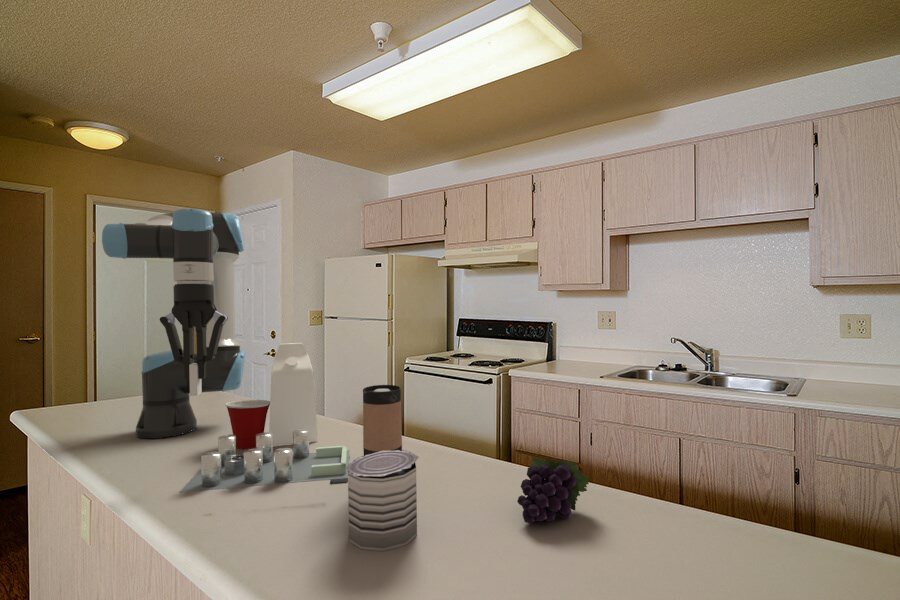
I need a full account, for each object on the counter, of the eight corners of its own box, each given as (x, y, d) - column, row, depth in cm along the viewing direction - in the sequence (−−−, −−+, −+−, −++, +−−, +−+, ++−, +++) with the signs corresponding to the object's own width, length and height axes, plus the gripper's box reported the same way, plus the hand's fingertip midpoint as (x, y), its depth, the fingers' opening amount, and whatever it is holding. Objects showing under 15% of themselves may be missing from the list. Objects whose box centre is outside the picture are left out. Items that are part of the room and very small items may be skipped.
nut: (229, 468, 105) (229, 454, 105) (251, 466, 106) (250, 452, 106) (223, 477, 100) (222, 462, 100) (245, 475, 101) (245, 460, 101)
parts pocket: (316, 456, 112) (316, 447, 112) (346, 453, 114) (346, 445, 114) (311, 476, 99) (311, 466, 99) (345, 473, 101) (345, 464, 101)
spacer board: (207, 464, 110) (207, 460, 110) (349, 453, 116) (349, 450, 116) (179, 496, 92) (179, 492, 92) (347, 481, 98) (347, 477, 98)
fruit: (514, 540, 80) (550, 489, 92) (571, 550, 74) (603, 494, 85) (497, 485, 79) (536, 440, 91) (553, 490, 73) (588, 442, 84)
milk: (314, 432, 135) (313, 340, 134) (318, 444, 124) (316, 344, 123) (269, 437, 130) (267, 342, 130) (268, 450, 120) (266, 346, 119)
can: (408, 554, 70) (407, 474, 70) (335, 548, 72) (334, 470, 72) (425, 519, 82) (424, 449, 82) (362, 514, 84) (361, 446, 84)
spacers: (222, 459, 110) (222, 434, 110) (310, 453, 114) (309, 428, 114) (197, 490, 93) (197, 459, 93) (301, 481, 97) (301, 452, 97)
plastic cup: (281, 444, 124) (280, 398, 124) (247, 457, 114) (246, 407, 114) (251, 439, 128) (250, 395, 128) (216, 452, 119) (215, 404, 118)
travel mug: (408, 483, 97) (407, 385, 97) (392, 498, 90) (390, 393, 90) (375, 479, 100) (374, 383, 100) (356, 493, 93) (355, 390, 92)
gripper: (152, 282, 96) (154, 399, 96) (221, 282, 98) (223, 396, 99) (167, 283, 103) (169, 392, 103) (231, 283, 106) (233, 389, 106)
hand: (195, 394), depth 101 cm, fingers closed
